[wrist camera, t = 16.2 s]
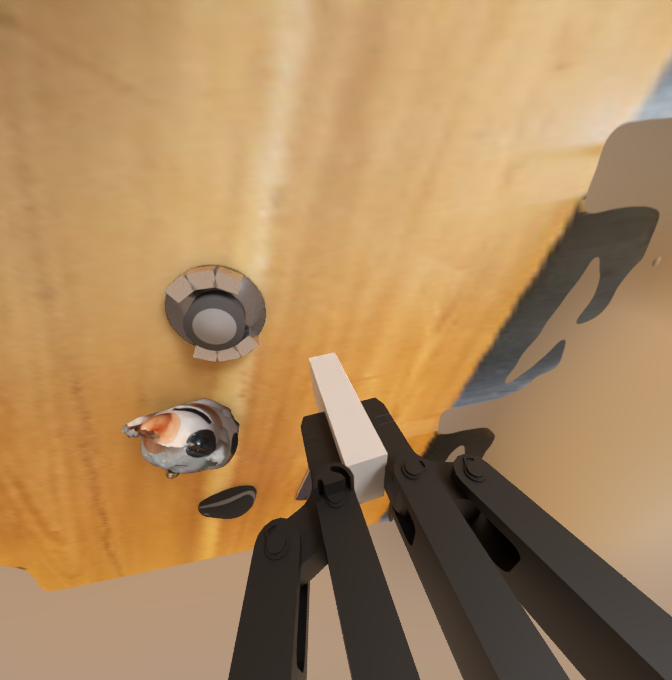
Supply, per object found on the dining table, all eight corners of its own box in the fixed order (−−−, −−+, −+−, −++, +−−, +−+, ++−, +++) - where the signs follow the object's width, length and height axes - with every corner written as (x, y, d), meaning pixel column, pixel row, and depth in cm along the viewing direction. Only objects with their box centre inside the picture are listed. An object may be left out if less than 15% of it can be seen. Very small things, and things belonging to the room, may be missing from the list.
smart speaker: (187, 331, 34) (179, 345, 30) (193, 283, 31) (186, 294, 28) (240, 340, 37) (238, 354, 33) (250, 297, 34) (250, 308, 31)
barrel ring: (272, 339, 39) (274, 351, 36) (187, 355, 36) (181, 369, 33) (254, 259, 33) (255, 265, 30) (150, 271, 30) (138, 279, 27)
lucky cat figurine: (139, 442, 41) (72, 491, 28) (175, 378, 43) (129, 396, 29) (223, 472, 45) (200, 530, 31) (255, 412, 46) (246, 442, 32)
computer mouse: (194, 499, 53) (190, 519, 50) (251, 479, 55) (251, 497, 52) (207, 514, 57) (204, 533, 53) (260, 495, 59) (260, 513, 55)
